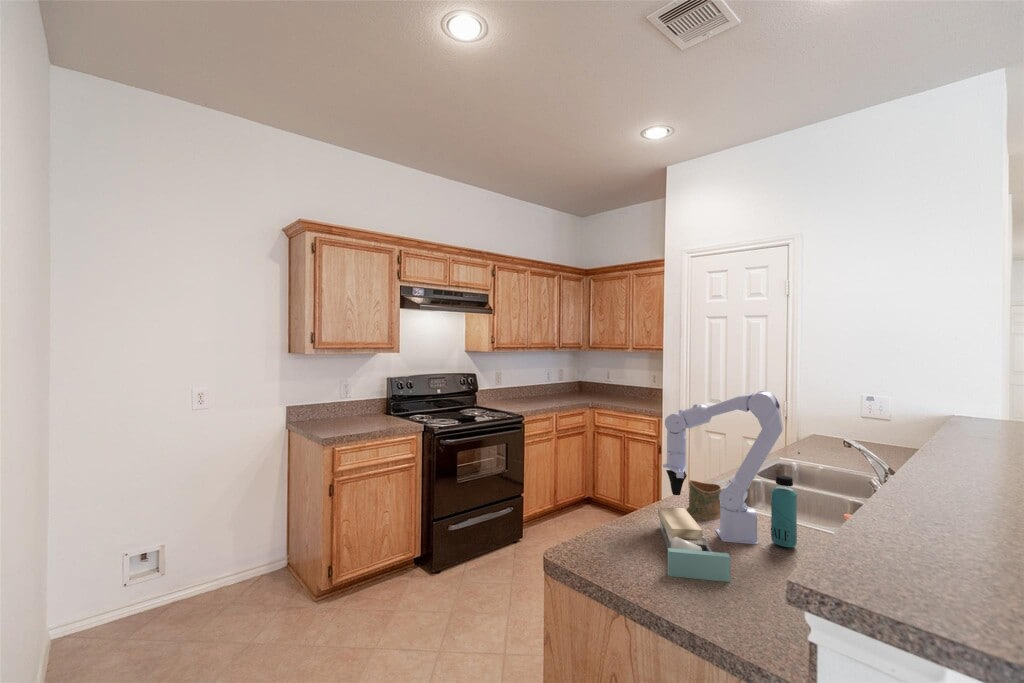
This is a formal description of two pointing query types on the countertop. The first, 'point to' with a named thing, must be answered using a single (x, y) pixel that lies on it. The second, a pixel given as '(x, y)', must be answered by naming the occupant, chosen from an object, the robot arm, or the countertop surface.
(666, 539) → the roller track
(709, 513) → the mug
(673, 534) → the slab
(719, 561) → the rail
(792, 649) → the countertop surface
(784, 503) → the beverage bottle
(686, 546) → the roller
